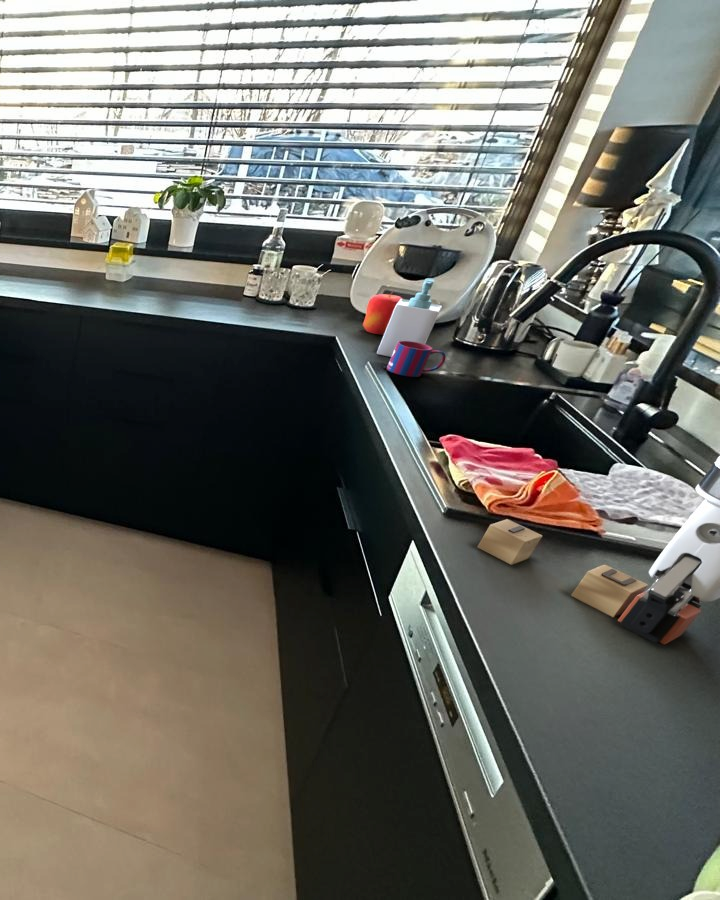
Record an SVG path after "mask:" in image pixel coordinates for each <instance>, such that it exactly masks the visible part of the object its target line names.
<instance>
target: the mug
mask: <svg viewBox="0 0 720 900" xmlns="http://www.w3.org/2000/svg"><path fill="white" fill-rule="evenodd" d="M438 353H439V354H441V360H440V362H439V363H438V364H437V365H436V366H433V367H431V368H425V367H426V364H427V362H428V360H429V358H430V356H431V355H433V354H438ZM446 357H447V356H446V353H445V352H444V351H442V350H438V349H433V347H432V346H430V345H428V344H426V343H425V344H422V343H417V342H412V341H398V342H397V345H396V347H395V349H394V352H393V354H392V357H390V359H389V361H388V364H387V366H386V370H387V371H388V372H390V373H393V374H396V375H399V376H404V377H409V378H418V377H419V378H420V377H421V375H422V374H423V373H427V372H433V371H436V370H438V369H440V368H441V367H442V366H443V365H444V363H445V362H446Z"/></svg>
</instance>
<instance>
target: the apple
mask: <svg viewBox="0 0 720 900" xmlns="http://www.w3.org/2000/svg"><path fill="white" fill-rule="evenodd" d="M393 293H394V291H391V293H390V294H384V293H380V294H375V295H373V296H371V298H370V299H369V300H368V303H367V306H366V312H365V317H364V320H363V323H362V326H363V328H364V329H365V331H366V332H367V333H370V334H375V335H379V336H384V333H385V331H386V328H387V326H388V324H389V321H390V319H391V316H392V314H393V311H394V309H395V306H396V304H397V303H398V302H399V301H400V300H401V299H404V298H403V297H401V296H399V295H394V294H393Z"/></svg>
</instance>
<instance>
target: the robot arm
mask: <svg viewBox="0 0 720 900" xmlns="http://www.w3.org/2000/svg"><path fill="white" fill-rule="evenodd" d="M694 490H695V492H696V493H697V494H698V495H699V496H700V497H703V501H701V503H700V504H699V505H698V506H697V508H696V509H695V510H694V511H693V513H691V514H690V515H689V517H688V518H687V520H686V521H685V522H684V524H682V526H681V527H680V528H679V530H678V531H677V532H676V533H675V534H674V536H673V537H672V538H671V539H670V541H669V542H668V544H667V545H666V546H665V547H664V548H663V550H662V551H661V553H660V554H659V555H658V557H657V558H656V560H655V561H654V562H653V563H652V565H651V567H650V568H649V570H648V574H649V576H650V578H651V579H653V580H655V581H654V582H653V583H652V584H651V586H649V588H648V589H647V590H646V591H647V592H646V591H645V592H646V593H645V594H644V595H643V596H642V597H641V598H639V600H638V601H637V602H636V603H635V605H634V606H633V607H632V609H631V610H630V611H629V612H628V614H627V615H626V616H625V618H624V619H623V620H622V621H621V622H619V624H620V626H622V627H624V628H625V629H627V630H630V631H631V632H633V633H635V634H637V635H640V637H642V638H644V639H647V640H649V641H650V642H652V643H654V644H657V643H660V641H661V640H662V638H663V637H664V636H665V635H666V634H667V632H668V631H669V630H670V629H671V628H672V626H673V625H674V624H675V623H676V622H677V620H678V619H679V618H680V617H681V616H679V615H677V614H678V613H679V612H680V611H681V610H682V608H683V607H684V606H685V605H686V604H687V603H688V604H690V605H692V606H694V607H696V608H699V609H701V605H700V604H701V603H708V602H709V603H710V602H714V601H717V600H719V599H720V455H719V456H718V457H717V458H716V460H715V461H714V462H713V464H712V465H711V466H710V467H709V469H708V470H707V471H706V473H705V474H704V476H703V477H702V479H701V480H700V481H699V482H698V484H697V485H696V486H695V488H694ZM677 599H678V601H677Z"/></svg>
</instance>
